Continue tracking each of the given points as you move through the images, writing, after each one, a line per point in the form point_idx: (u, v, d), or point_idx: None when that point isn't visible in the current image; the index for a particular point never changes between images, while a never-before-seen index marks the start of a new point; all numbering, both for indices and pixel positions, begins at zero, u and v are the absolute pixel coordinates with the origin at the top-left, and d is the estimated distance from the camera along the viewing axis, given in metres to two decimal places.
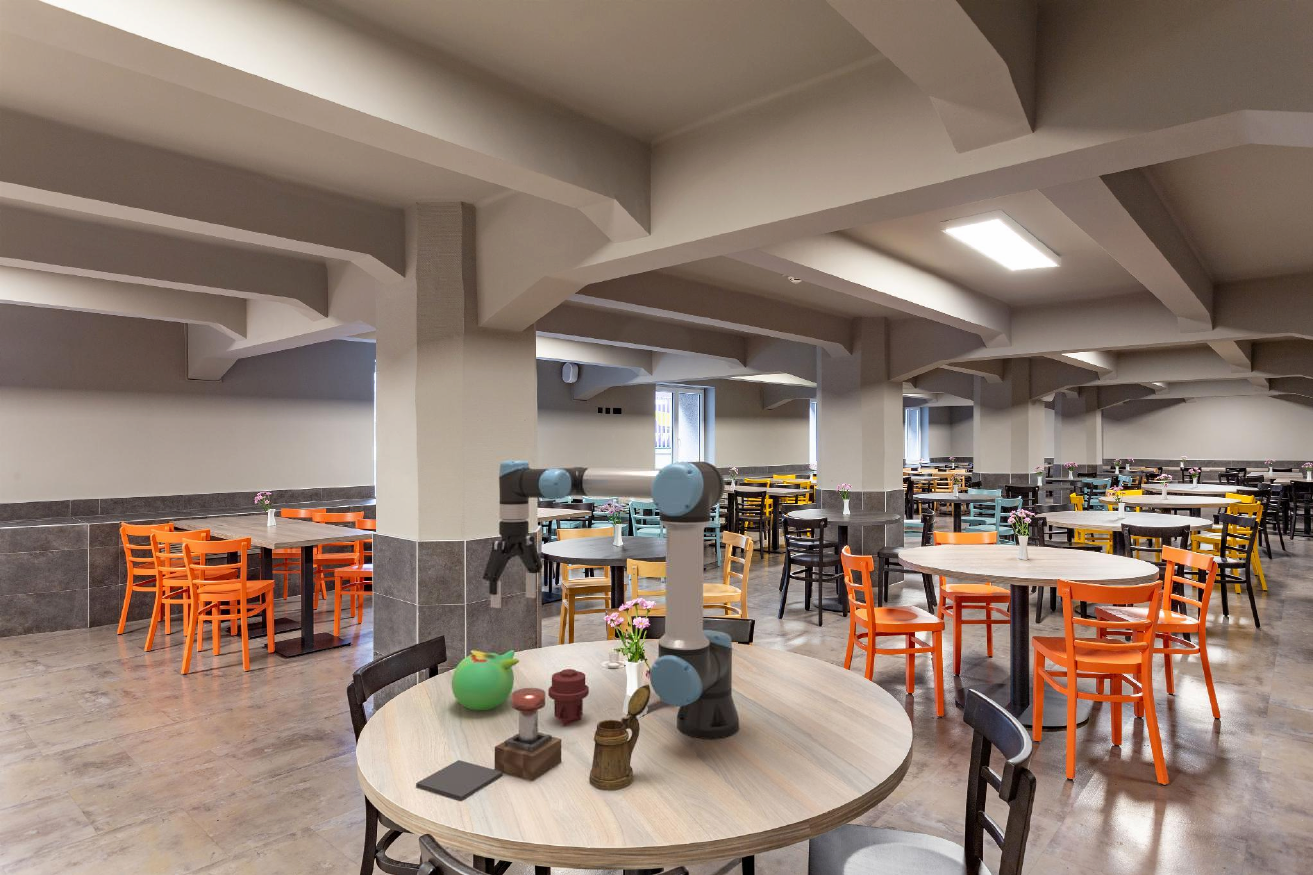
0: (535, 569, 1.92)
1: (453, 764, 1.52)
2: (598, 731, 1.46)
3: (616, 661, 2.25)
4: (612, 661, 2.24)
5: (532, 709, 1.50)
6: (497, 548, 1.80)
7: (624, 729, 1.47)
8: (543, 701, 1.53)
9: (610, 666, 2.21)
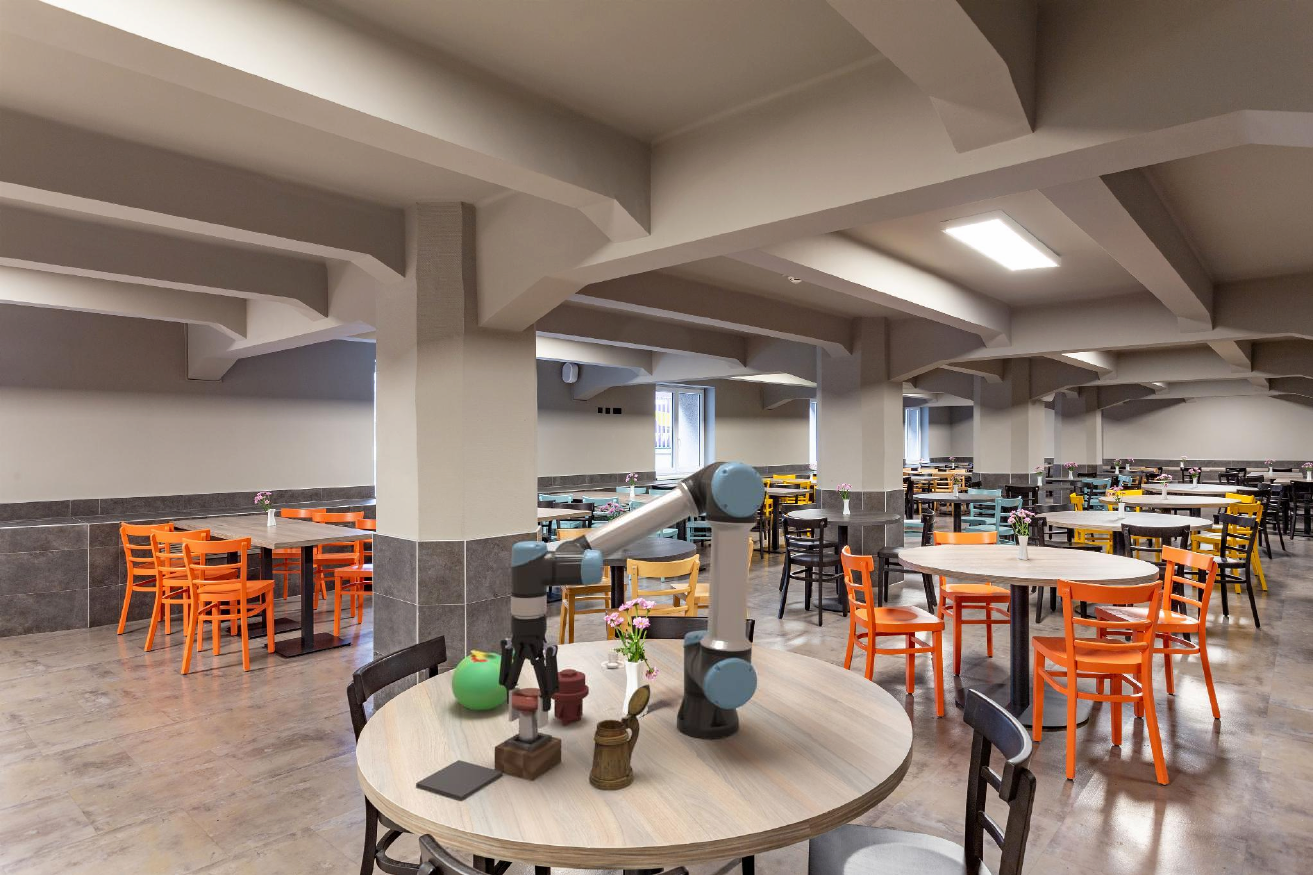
0: (542, 691, 1.50)
1: (453, 764, 1.52)
2: (598, 731, 1.46)
3: (615, 661, 2.25)
4: (611, 661, 2.24)
5: (532, 709, 1.50)
6: None
7: (624, 729, 1.47)
8: None
9: (609, 666, 2.21)
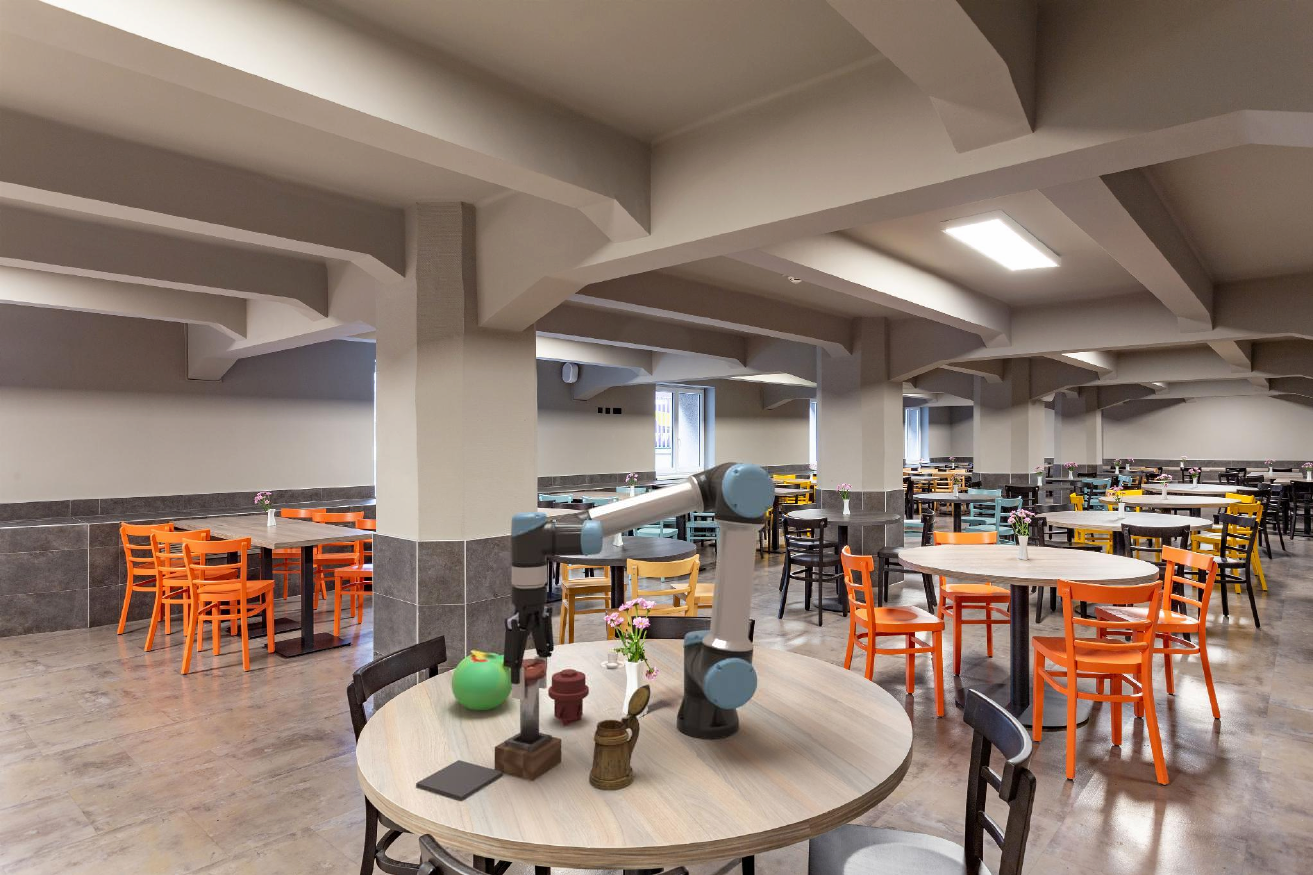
0: (546, 652, 1.57)
1: (453, 764, 1.52)
2: (598, 731, 1.46)
3: (615, 661, 2.24)
4: (611, 661, 2.24)
5: None
6: (512, 628, 1.48)
7: (624, 729, 1.47)
8: None
9: (609, 666, 2.21)
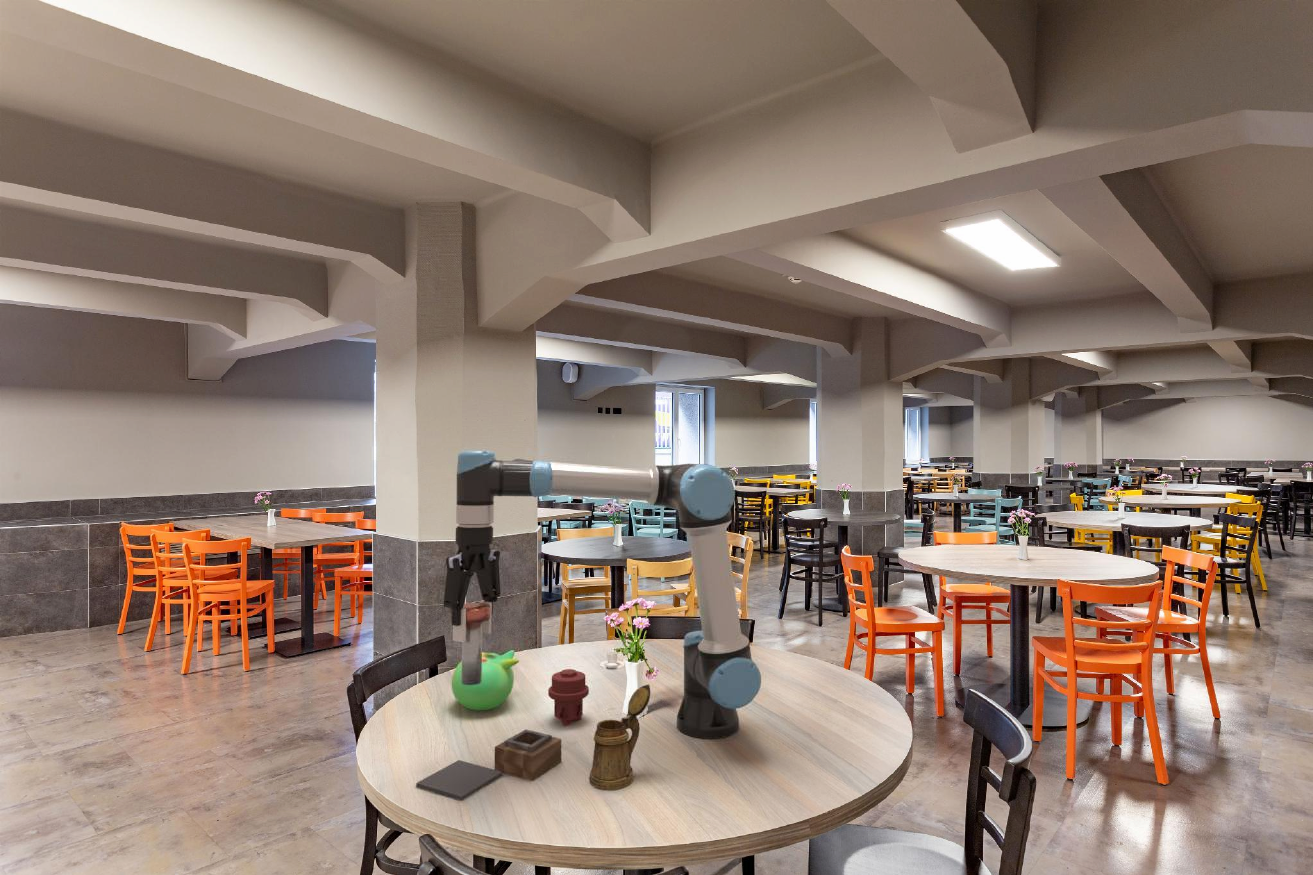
0: (492, 596, 1.52)
1: (453, 764, 1.52)
2: (598, 731, 1.46)
3: (614, 661, 2.24)
4: (610, 661, 2.24)
5: None
6: (453, 567, 1.42)
7: (624, 729, 1.47)
8: None
9: (608, 666, 2.21)
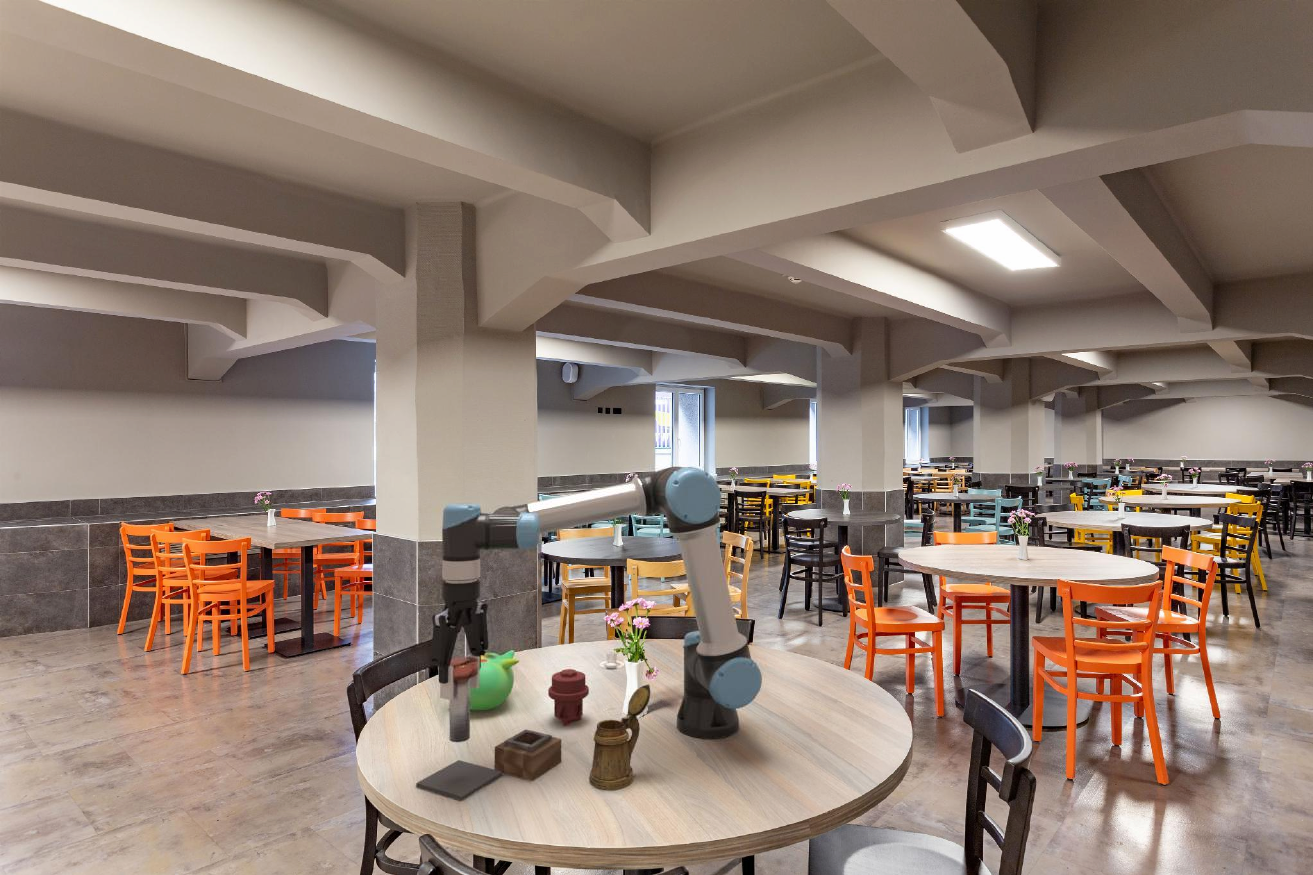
0: (479, 650, 1.50)
1: (453, 764, 1.52)
2: (598, 731, 1.46)
3: (614, 661, 2.24)
4: (610, 661, 2.24)
5: None
6: (440, 624, 1.41)
7: (624, 729, 1.47)
8: None
9: (608, 666, 2.21)
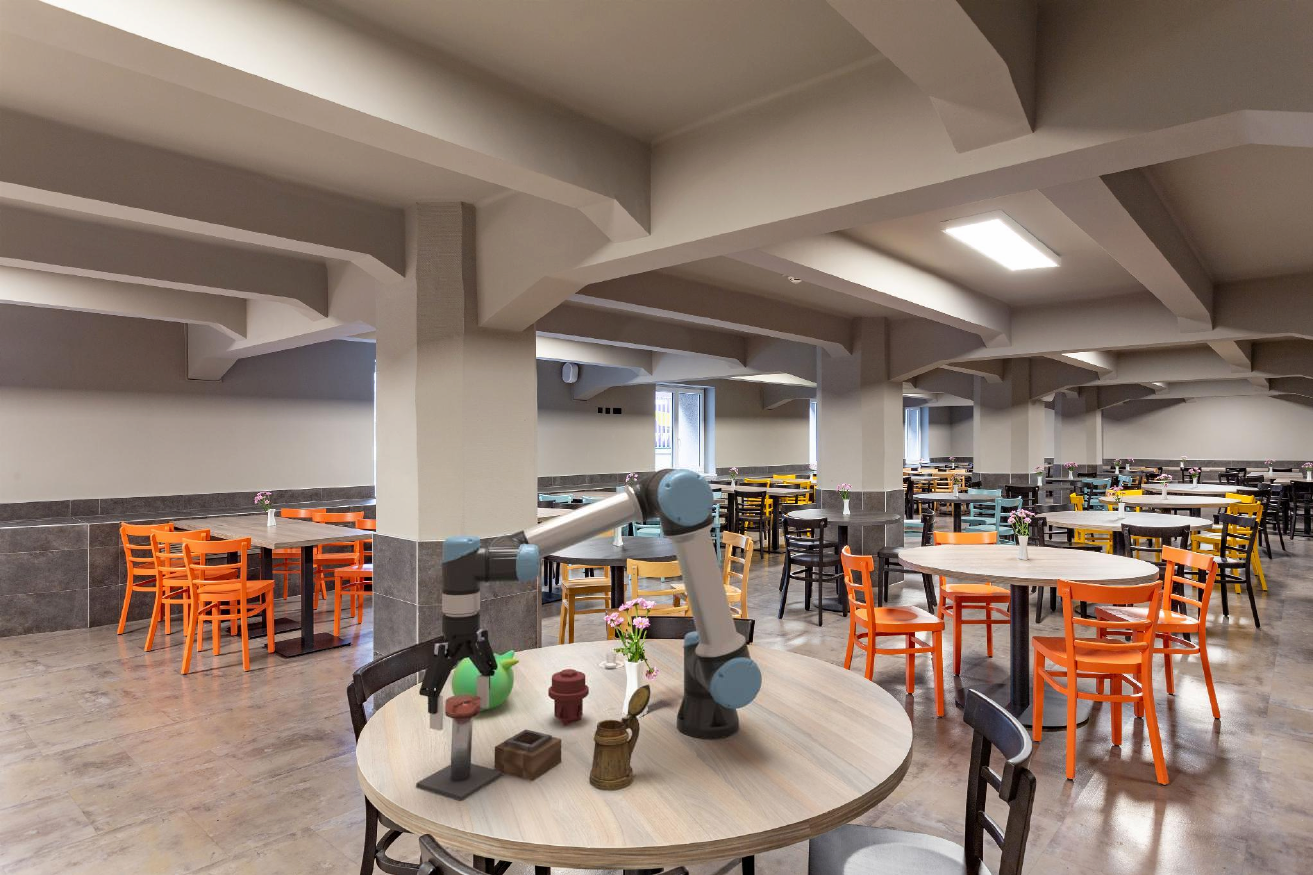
0: (488, 671, 1.53)
1: None
2: (598, 731, 1.46)
3: (613, 661, 2.24)
4: (609, 661, 2.24)
5: None
6: (438, 653, 1.40)
7: (624, 729, 1.47)
8: None
9: (607, 666, 2.20)
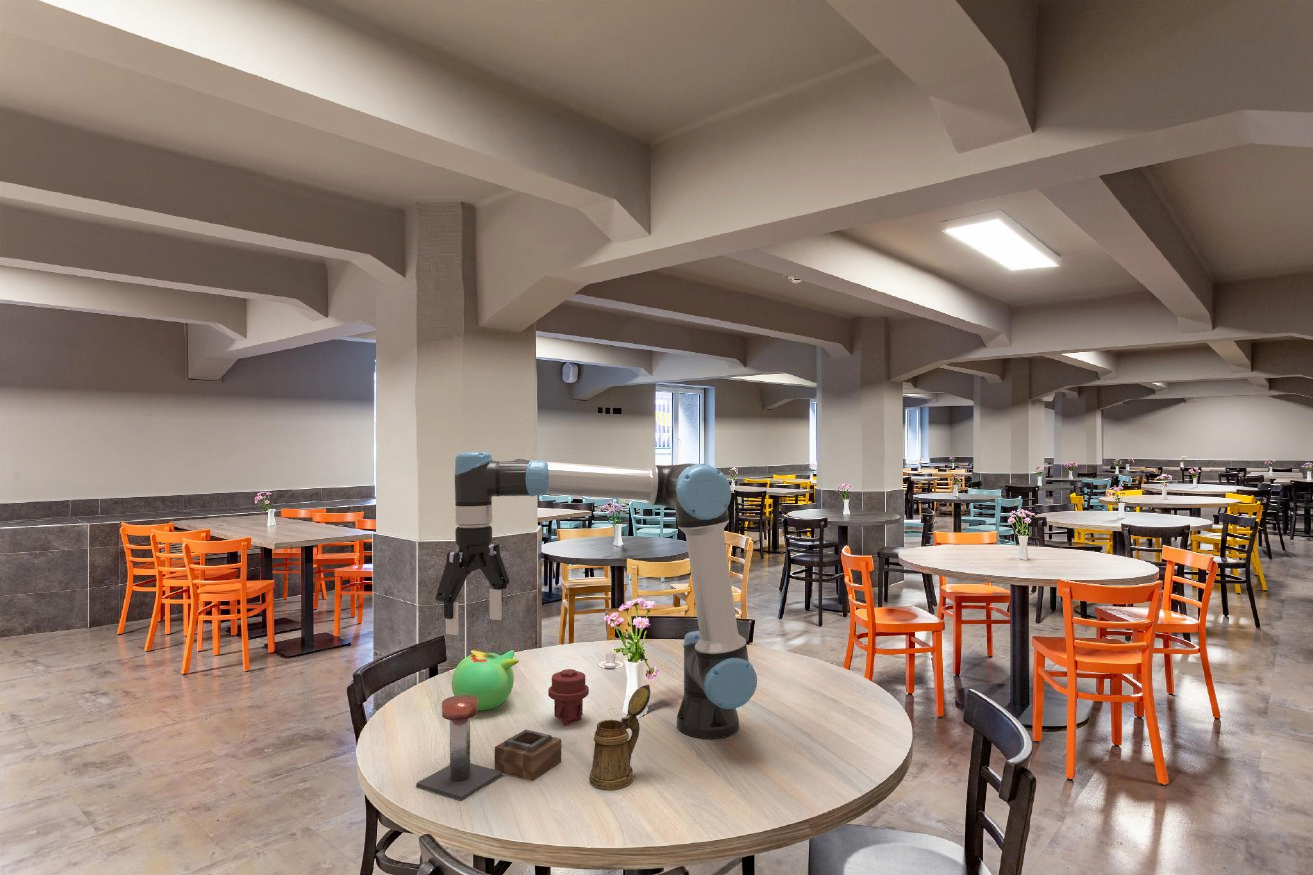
0: (501, 585, 1.57)
1: None
2: (598, 731, 1.46)
3: (613, 661, 2.24)
4: (609, 661, 2.24)
5: None
6: (453, 561, 1.45)
7: (624, 729, 1.47)
8: None
9: (607, 666, 2.20)
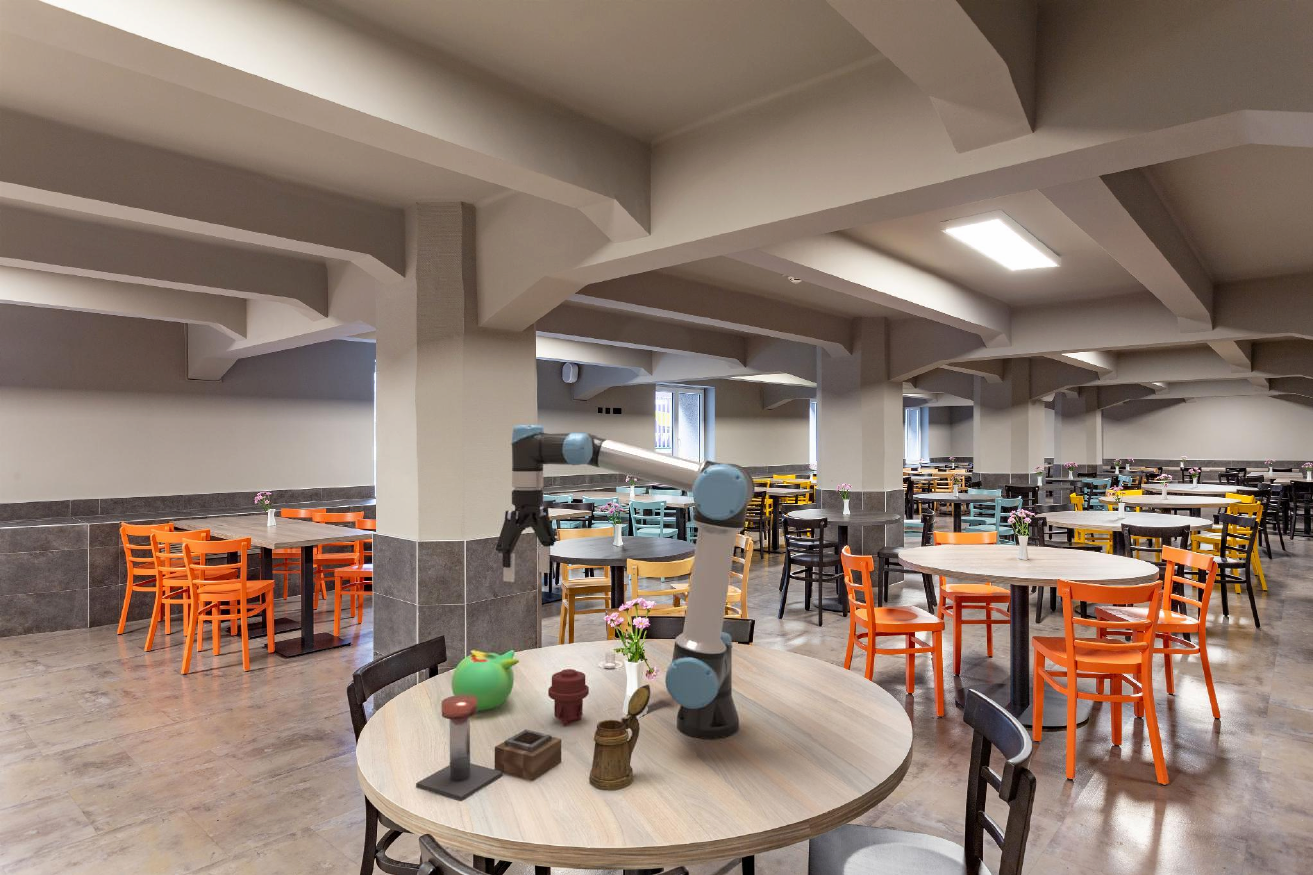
0: (549, 542, 1.80)
1: None
2: (598, 731, 1.46)
3: (612, 661, 2.24)
4: (608, 661, 2.24)
5: None
6: (511, 518, 1.68)
7: (624, 729, 1.47)
8: None
9: (606, 666, 2.20)
